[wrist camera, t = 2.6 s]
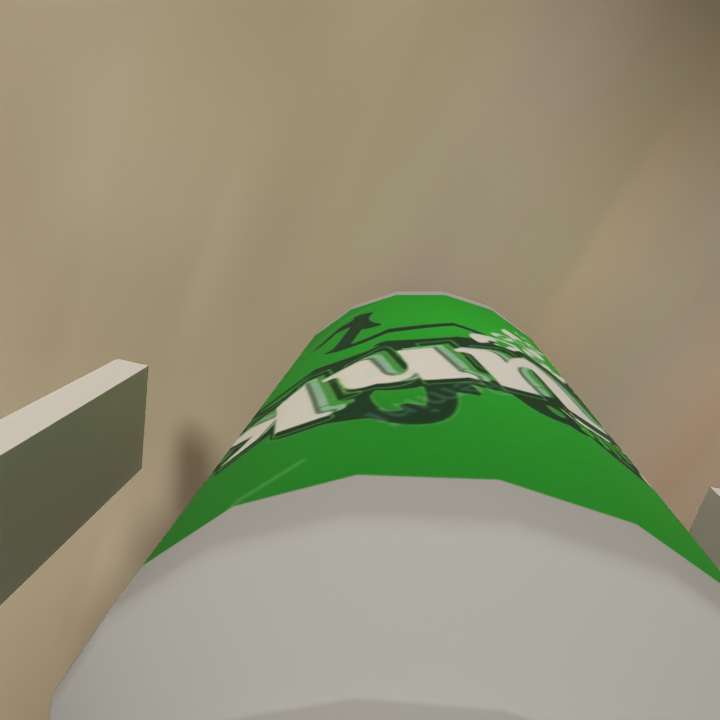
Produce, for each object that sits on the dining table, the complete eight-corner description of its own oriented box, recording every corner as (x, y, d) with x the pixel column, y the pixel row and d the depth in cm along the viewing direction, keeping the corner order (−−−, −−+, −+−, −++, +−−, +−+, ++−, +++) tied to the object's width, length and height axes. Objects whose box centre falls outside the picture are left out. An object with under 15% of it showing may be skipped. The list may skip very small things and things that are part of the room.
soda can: (467, 556, 16) (579, 1352, 5) (256, 454, 16) (-125, 1056, 5) (603, 358, 14) (1375, 1014, 3) (359, 234, 14) (95, 395, 2)
